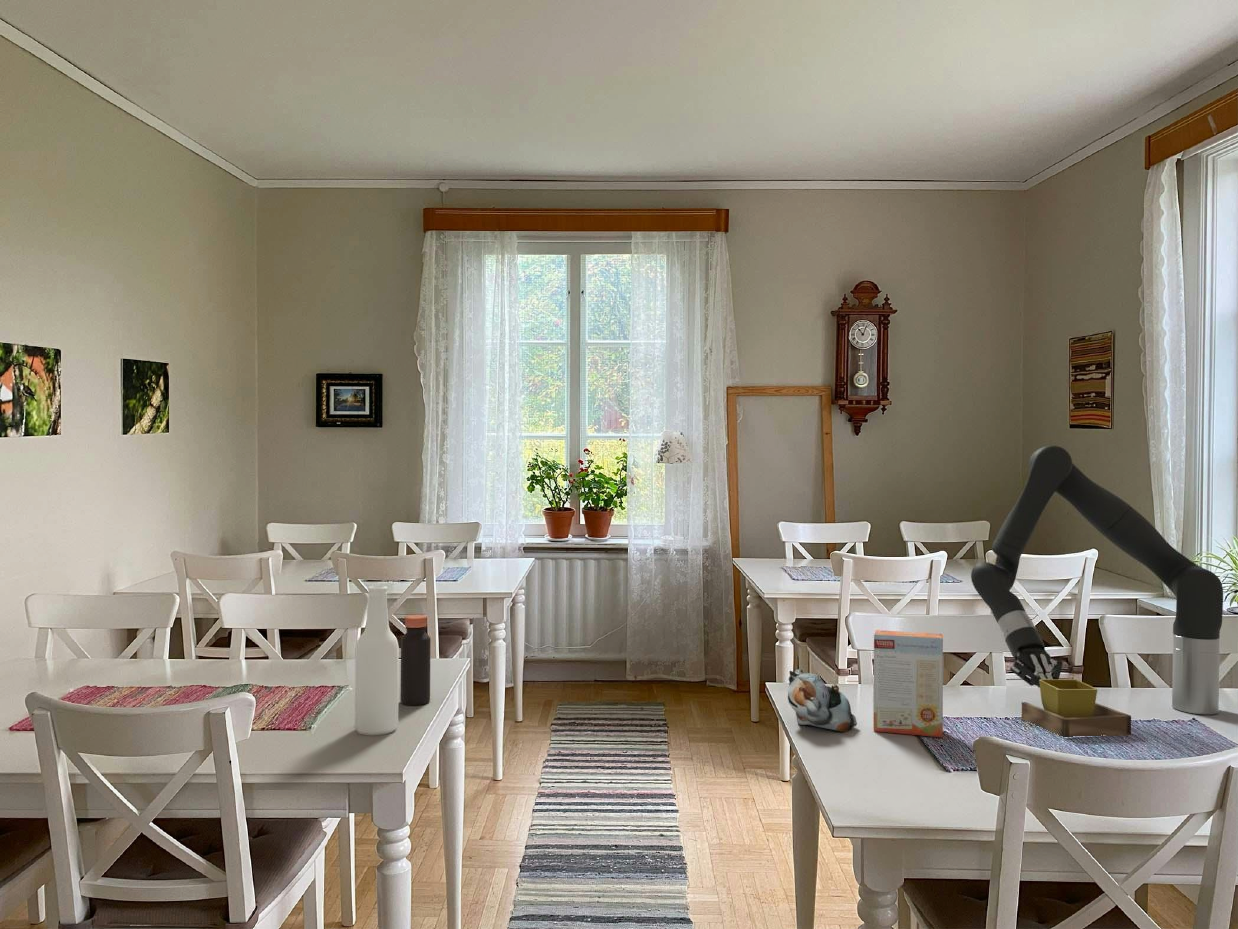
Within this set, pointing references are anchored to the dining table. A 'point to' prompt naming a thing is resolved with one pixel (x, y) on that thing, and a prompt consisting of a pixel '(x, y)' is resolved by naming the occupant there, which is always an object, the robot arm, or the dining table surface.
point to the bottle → (415, 662)
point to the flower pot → (1068, 697)
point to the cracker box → (908, 683)
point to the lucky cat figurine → (819, 703)
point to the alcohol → (376, 670)
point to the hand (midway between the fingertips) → (1053, 699)
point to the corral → (1080, 722)
